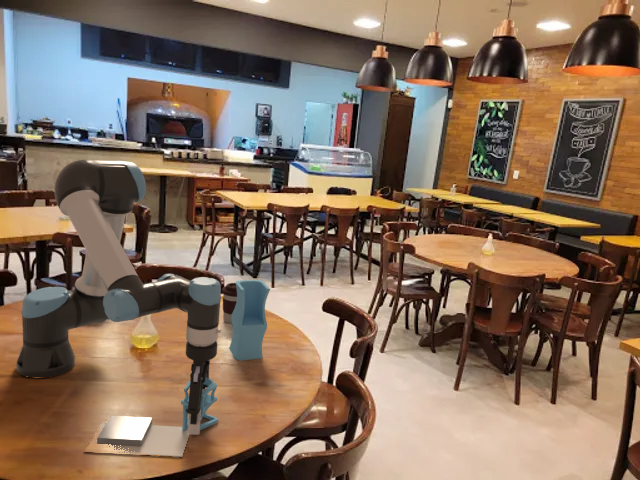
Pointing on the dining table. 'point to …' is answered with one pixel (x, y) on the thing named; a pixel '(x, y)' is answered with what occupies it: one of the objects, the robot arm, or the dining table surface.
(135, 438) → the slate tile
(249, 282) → the blue wavy holder
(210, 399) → the chair
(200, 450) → the dining table surface
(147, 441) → the mat
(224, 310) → the coffee cup
